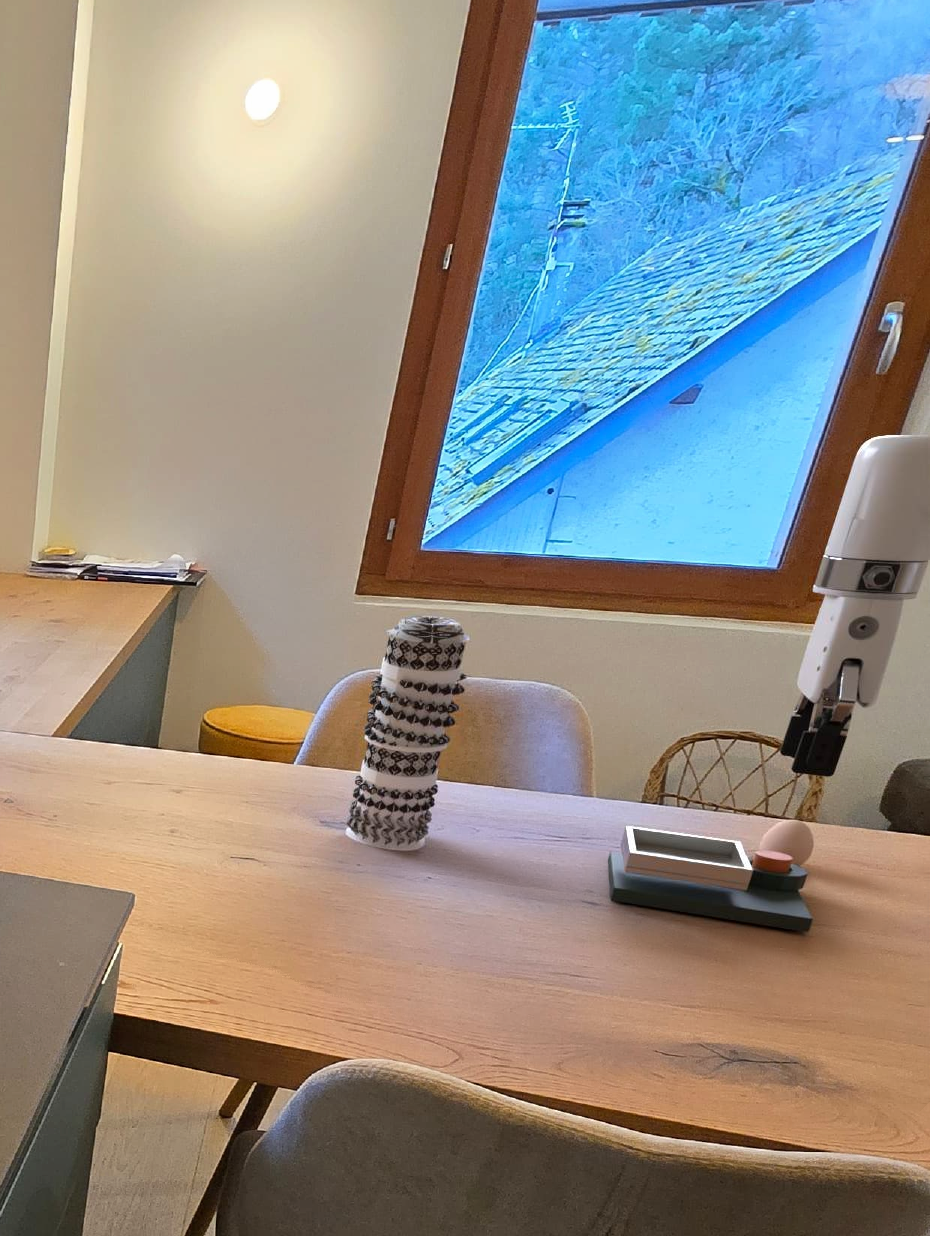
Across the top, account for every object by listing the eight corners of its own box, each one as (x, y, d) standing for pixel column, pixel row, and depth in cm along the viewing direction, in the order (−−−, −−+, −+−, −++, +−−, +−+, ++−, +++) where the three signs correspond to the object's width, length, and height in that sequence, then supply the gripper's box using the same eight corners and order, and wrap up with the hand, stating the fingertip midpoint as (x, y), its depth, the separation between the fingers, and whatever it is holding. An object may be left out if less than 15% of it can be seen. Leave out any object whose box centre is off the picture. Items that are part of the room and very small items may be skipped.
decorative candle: (446, 843, 136) (499, 622, 125) (394, 860, 132) (443, 633, 121) (376, 819, 143) (420, 608, 132) (324, 834, 139) (365, 617, 128)
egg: (782, 879, 127) (801, 830, 125) (742, 864, 131) (759, 815, 128) (813, 874, 128) (832, 825, 126) (772, 859, 132) (790, 811, 130)
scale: (792, 890, 124) (802, 862, 123) (814, 933, 113) (825, 904, 112) (606, 862, 131) (614, 836, 130) (610, 900, 121) (618, 872, 120)
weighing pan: (734, 860, 123) (741, 841, 122) (746, 890, 115) (753, 870, 114) (620, 844, 128) (625, 825, 127) (624, 872, 120) (630, 852, 119)
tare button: (785, 867, 122) (790, 853, 122) (790, 876, 120) (795, 862, 119) (749, 862, 124) (754, 848, 123) (753, 871, 121) (758, 856, 121)
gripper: (944, 591, 102) (871, 792, 109) (899, 572, 116) (836, 751, 123) (834, 585, 106) (769, 780, 112) (802, 567, 119) (747, 742, 126)
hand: (805, 763), depth 118 cm, fingers open, 6 cm apart
